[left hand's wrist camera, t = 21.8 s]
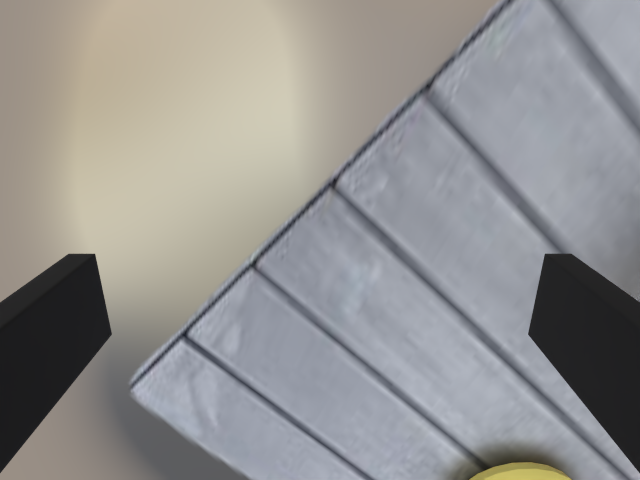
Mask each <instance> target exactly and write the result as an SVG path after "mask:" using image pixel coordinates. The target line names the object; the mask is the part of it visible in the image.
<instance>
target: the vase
mask: <svg viewBox="0 0 640 480" xmlns="http://www.w3.org/2000/svg"><path fill="white" fill-rule="evenodd" d="M469 480H572V479H570V478H569V477H568V476H567V475H566V474H564V473H563V472H562V471H560V470H558V469H555V468H553V467H551V466H548V465H544V464H538V463H532V462H520V463H509V464H504V465H500V466H495V467H492V468H490V469H488V470H485V471H483V472H481V473H478V474H477V475H475V476H474V477H472V478H471V479H469Z"/></svg>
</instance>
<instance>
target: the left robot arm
mask: <svg viewBox="0 0 640 480" xmlns="http://www.w3.org/2000/svg"><path fill="white" fill-rule="evenodd" d="M111 335H112V333H111V328H110V323H109V319H108V314H107V309H106V304H105V299H104V295H103V290H102V285H101V280H100V275H99V271H98V266H97V261H96V256H95V254H68V255H66V256H65V257H64V258H62V259H61V260H59V261H58V262H57V263H55V264H54V265H52V266H51V267H50V268H48V269H47V270H45V271H44V272H43V273H41V274H40V275H38V276H37V277H35V278H34V279H33V280H31V281H30V282H28V283H27V284H26V285H24V286H23V287H21V288H20V289H19V290H17V291H16V292H14V293H13V294H12V295H10V296H9V297H7V298H6V299H4V300H3V301H2V302H0V473H1V472H2V470H3V469H4V468H5V467H6V465H7V464H8V463H9V462H10V460H11V459H12V458H13V457H14V455H15V454H16V453H17V452H18V450H19V449H20V448H21V447H22V445H23V444H24V443H25V442H26V440H27V439H28V438H29V437H30V435H31V434H32V433H33V432H34V430H35V429H36V428H37V427H38V426H39V424H40V423H41V422H42V421H43V419H44V418H45V417H46V416H47V414H48V413H49V412H50V411H51V409H52V408H53V407H54V406H55V404H56V403H57V402H58V401H59V399H60V398H61V397H62V396H63V394H64V393H65V392H66V391H67V389H68V388H69V387H70V386H71V384H72V383H73V382H74V381H75V380H76V378H77V377H78V376H79V374H80V373H81V372H82V371H83V369H84V368H85V367H86V366H87V365H88V363H89V362H90V361H91V360H92V358H93V357H94V356H95V355H96V353H97V352H98V351H99V350H100V348H101V347H102V346H103V345H104V343H105V342H106V341H107V340H108V338H109V337H110V336H111ZM528 335H529V336H530V337H531V338H532V340H533V341H534V342H535V343H536V345H537V346H538V347H539V348H540V350H541V351H542V352H543V353H544V355H545V356H546V357H547V358H548V360H549V361H550V362H551V363H552V365H553V366H554V367H555V368H556V370H557V371H558V372H559V373H560V375H561V376H562V377H563V378H564V380H565V381H566V382H567V383H568V384H569V386H570V387H571V388H572V389H573V391H574V392H575V393H576V394H577V396H578V397H579V398H580V399H581V401H582V402H583V403H584V404H585V406H586V407H587V408H588V409H589V411H590V412H591V413H592V414H593V416H594V417H595V418H596V419H597V421H598V422H599V423H600V424H601V426H602V427H603V428H604V429H605V430H606V432H607V433H608V434H609V435H610V437H611V438H612V439H613V440H614V442H615V443H616V444H617V445H618V447H619V448H620V449H621V450H622V452H623V453H624V454H625V455H626V457H627V458H628V459H629V460H630V462H631V463H632V464H633V465H634V467H635V468H636V469H637V470H638V472H639V473H640V302H638V301H637V300H636V299H634V298H633V297H631V296H630V295H628V294H627V293H626V292H624V291H623V290H621V289H620V288H619V287H617V286H616V285H614V284H613V283H612V282H610V281H609V280H607V279H606V278H605V277H603V276H602V275H600V274H599V273H598V272H596V271H595V270H593V269H592V268H590V267H589V266H588V265H586V264H585V263H583V262H582V261H581V260H579V259H578V258H576V257H575V256H574V255H572V254H545V256H544V261H543V266H542V271H541V275H540V280H539V285H538V290H537V295H536V299H535V304H534V309H533V314H532V319H531V323H530V328H529V333H528Z"/></svg>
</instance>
